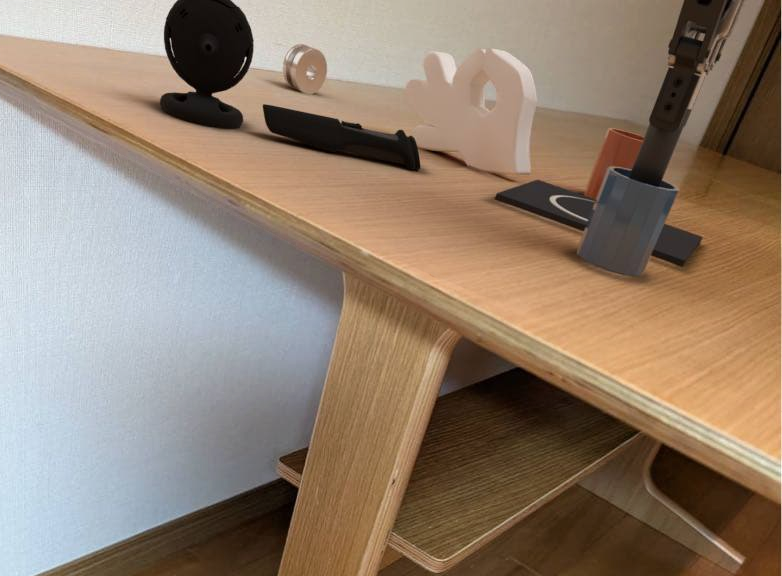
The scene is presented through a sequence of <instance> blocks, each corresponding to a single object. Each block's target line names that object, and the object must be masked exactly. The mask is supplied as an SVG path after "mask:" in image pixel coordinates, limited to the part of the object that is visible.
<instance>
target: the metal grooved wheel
mask: <svg viewBox="0 0 782 576" xmlns="http://www.w3.org/2000/svg"><path fill="white" fill-rule="evenodd" d="M282 74H283V75H282V76H283V78H284V80H285V82H286V84H287V85H288V87H290V88H292V89H295V90H297V91H299V92H300V93H302V94H307V95H308V94H309V95H314V94H316V93H317V92H318V91H320V89H321V88H322V87H323V85H324V83H325V81H326V79H327V74H328V64H327V59H326V57H325V55H324V53H323V52H322V51H321V50H320V49H317V48H314V47H311V46H309V45H307V44H304V43H299V44H295V45H293V46H292V47H291V48H289V49H288V51H287V53H286V54H285V57H284V59H283V63H282Z"/></svg>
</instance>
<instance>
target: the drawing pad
mask: <svg viewBox="0 0 782 576" xmlns="http://www.w3.org/2000/svg"><path fill="white" fill-rule="evenodd" d="M494 200H495V201H499V202H501V203H504V204H507V205H510V206H512V207H515V208H518V209H520V210H523V211H526V212H529V213H531V214H533V215H534V214H535V215H537V216H540V217H543V218H545V219H548V220H551V221H553V222H556V223H560V224H563V225H564V226H568V227H570V228H572V229H576V230H579V231H582V232H584V230H585V227H586V224H587V222H588V219H589V216H590V214H591V211H592V208H593V206H594V203H595V199H592V198H590V197H587V196H584V194H581V193H578V192H575V191H572V190H569V189H566V188H564V187H560V186H558V185H555V184H552V183H549V182H546V181H543V180H540V179H534V180H532V181H528V182H527V183H523V184H521V185H517V186H514V187H511V188H508V189H505V190H502V191H499V192H497V193H496V194H495V197H494ZM703 239H704V238H703V236H701V235H699V234H695V233H693V232H690V231H687V230H684V229H681V228H678V227H676V226H672V225H670V224H667V223H666V224H665V226H664V228H663V231H662V233H661V235H660V238H659V240H658V242H657V245H656V247H655V249H654V252H653V254H652V256H651V257H654V258H656V259H659V260H663V261H664V262H668V263H671V264H674V265H676V266H680V267H684V265H686V263H687V262H688V260H689V259H690V258H691V256H692V255H693V253H694V252H695V251H696V250H697V248H698V247H699V246H700V245H701V242H702V240H703Z"/></svg>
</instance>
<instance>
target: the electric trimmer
mask: <svg viewBox="0 0 782 576" xmlns="http://www.w3.org/2000/svg"><path fill="white" fill-rule="evenodd" d="M262 111H263V117H264V122H265V126H266V127H267V129H268V131H269V132H270V133H272V134H275V135H278V136H281V137H283V138H287V139H291V140H293V141H296V142H299V143H302V144H305V145H308V146H311V147H313V148H317V149H318V150H322V151H324V152H328V153H334V152H335V153H336V152H341V151H342V152H346V153H350V154H355V155H359V156H364V157H368V158H373V159H376V160H377V159H378V160H382V161H386V162H390V163H395V164H398V165H399V164H400V165H404V166H405V168H407V169H408V170H409V171H411V172H414V171H415V170H417V172H419V171H420V170H421V158H420V152H419V148H418V147H417V144H416V141H415V139H414V137H413V136H412V135H409V136H407V134H406V133H405V131H404V129H398V130H397V131H396V132H395V133H394V134H392V133H386V132H382V131H381V132H380V131H377V130H371V129H368V128H364V127H363V126H362V124H360V123H355V122H349V121H344V120H341V121H340V120H339V118H336V117H330V116H325V115H320V114H315V113H311V112H307V111H301V110H296V109H293V108H292V109H291V108H287V107H282V106H278V105H273V104H265V103H263V104H262Z"/></svg>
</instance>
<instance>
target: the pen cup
mask: <svg viewBox="0 0 782 576" xmlns="http://www.w3.org/2000/svg"><path fill="white" fill-rule="evenodd" d="M630 173H631V169H627V168H622V167H615V166H610V167H608V168H607V171H606V174H605V176H604V179H603V182H602V184H601V187H600V190H599V192H598V195H597V198H596V200H595V203H594V206H593V208H592V211H591V214H590V216H589V219H588V222H587V224H586V227H585V230H584V231H582V232H583V233H582V235H581V238H580V241H579V243H578V246H577V249H576V255H577V256H578V257H579V258H581V259H582V260H583V261H585V262H587V263H589V264H591V265H593V266H595V267H597V268H600V269H602V270H605V271H607V272H611V273H615V274H618V275H622V276H628V277H641V276H643V275H644V274H645V273H646V270H647V267H649V264H650V261H651V258H652V257H653V256H652V254H653V252H654V249H655V247H656V245H657V242H658V240H659V238H660V235H661V233H662V231H663V228H664V226H665V224H667V221H668V219H669V216H670V214H671V212H672V209H673V207H674V205H675V203H676V200H677V198H678V195H679V193H680V191H681V189H680V188H679V187H678V186H677V185H675V184H673V183H671V182H670V181H667V180H664V179H662V181H661V184H660V186H659V187H657V186H653V185H649V184H646V183H643V182H640V181H637V180H634V179H631V178H629V176H630Z"/></svg>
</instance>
